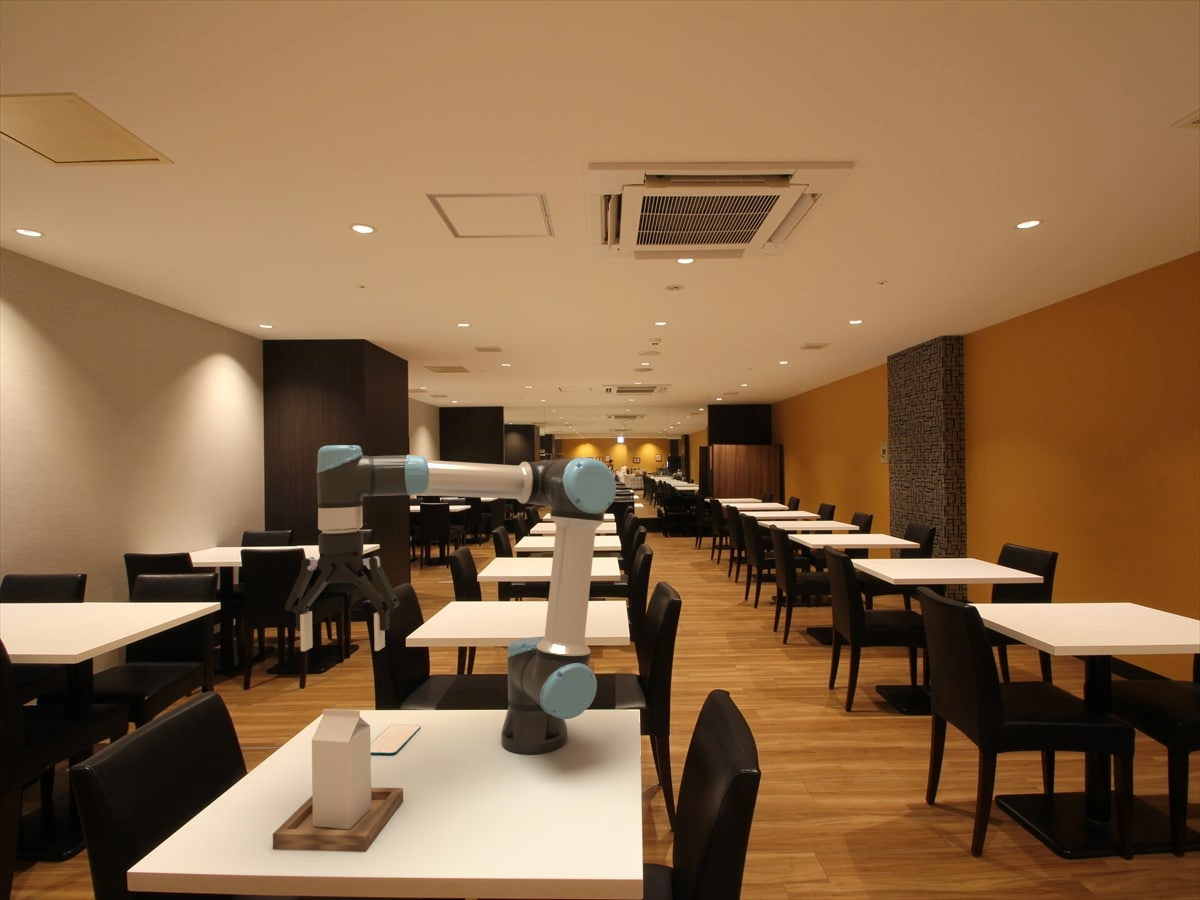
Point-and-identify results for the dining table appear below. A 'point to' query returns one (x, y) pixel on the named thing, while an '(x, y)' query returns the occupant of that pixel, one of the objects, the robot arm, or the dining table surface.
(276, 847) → the holder
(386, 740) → the smartphone
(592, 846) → the dining table surface
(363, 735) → the milk carton
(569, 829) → the dining table surface
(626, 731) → the dining table surface
